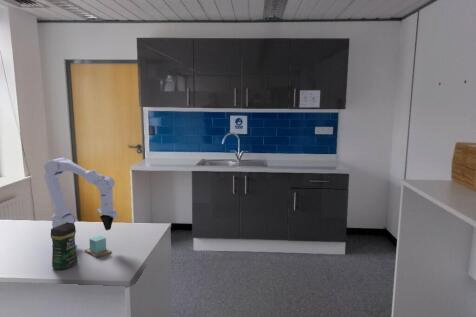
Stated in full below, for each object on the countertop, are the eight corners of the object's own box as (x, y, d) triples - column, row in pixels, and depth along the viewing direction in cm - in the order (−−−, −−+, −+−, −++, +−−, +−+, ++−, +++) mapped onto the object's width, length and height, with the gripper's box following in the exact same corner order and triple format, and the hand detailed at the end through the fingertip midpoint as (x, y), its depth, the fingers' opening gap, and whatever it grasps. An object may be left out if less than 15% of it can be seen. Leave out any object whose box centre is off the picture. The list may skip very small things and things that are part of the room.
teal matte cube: (90, 250, 155) (89, 238, 154) (100, 247, 159) (99, 235, 158) (96, 253, 152) (95, 241, 151) (106, 249, 156) (105, 238, 155)
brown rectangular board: (84, 251, 156) (84, 241, 155) (98, 247, 162) (98, 237, 161) (97, 258, 150) (97, 247, 149) (111, 252, 155) (111, 242, 154)
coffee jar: (63, 272, 136) (61, 229, 134) (48, 269, 139) (46, 227, 136) (81, 261, 146) (78, 222, 143) (66, 259, 148) (64, 220, 145)
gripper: (123, 203, 155) (124, 230, 157) (105, 198, 163) (107, 224, 165) (109, 206, 149) (110, 234, 151) (92, 201, 158) (93, 228, 160)
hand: (108, 229), depth 158 cm, fingers closed
